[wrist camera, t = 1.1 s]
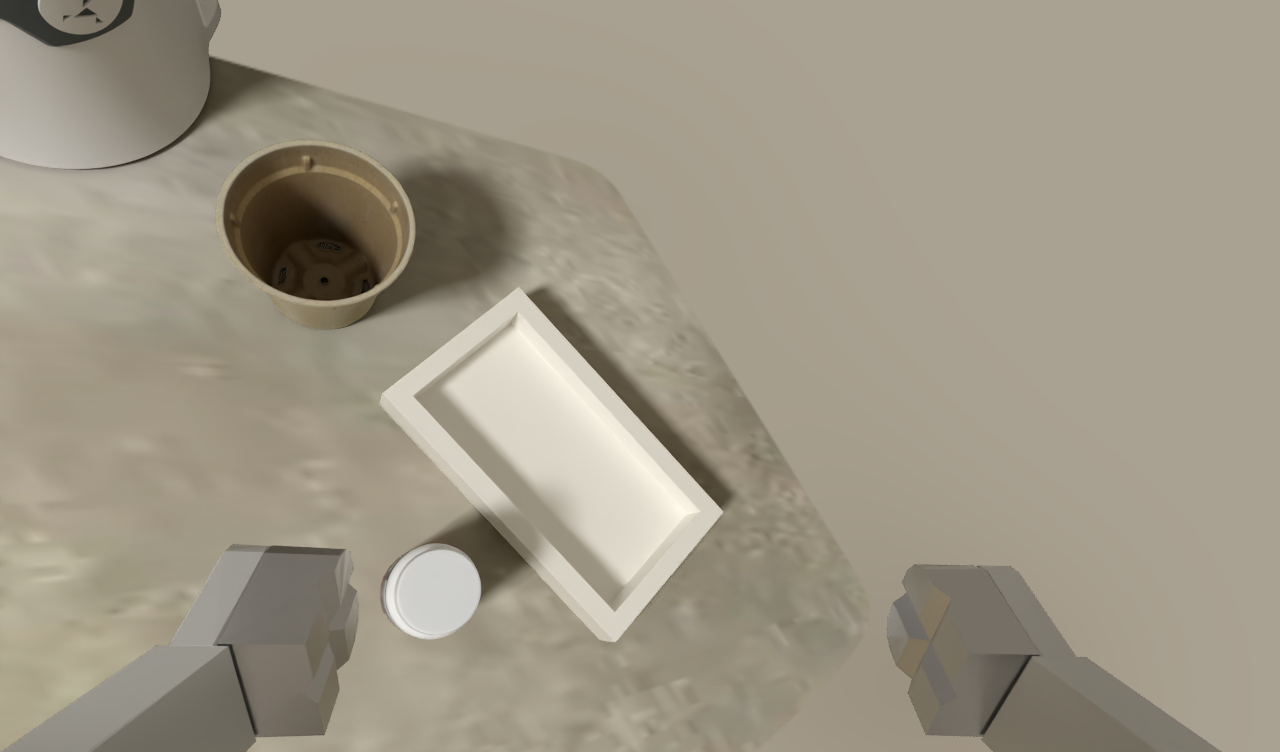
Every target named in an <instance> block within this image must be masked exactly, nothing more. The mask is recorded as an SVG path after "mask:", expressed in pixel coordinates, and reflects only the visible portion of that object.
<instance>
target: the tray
mask: <svg viewBox="0 0 1280 752" xmlns="http://www.w3.org/2000/svg"><path fill="white" fill-rule="evenodd" d="M380 406H381V407H382V408H383V409H384V410H385V411H386V412H387V414H388V415H389V416H390V417H391V418H392V419H393V420H394V421H395V422H396V423H397V424H398V425H399V426H400V427H401V428H402V430H403V431H404V432H405V433H406V434H407V435H408V436H409V437H410V438H411V439H412V440H413V441H414V442H415V443H416V444H417V446H418V447H419V448H420V449H421V450H422V451H423V452H424V453H425V454H426V455H427V456H428V457H429V458H430V459H431V460H432V462H433V463H434V464H435V465H436V466H437V467H438V468H439V469H440V470H441V471H442V472H443V473H444V474H445V475H446V476H447V478H448V479H449V480H450V481H451V482H452V483H453V484H454V485H455V486H456V487H457V488H458V489H459V490H460V491H461V492H462V494H463V495H464V496H465V497H466V498H467V499H468V500H469V501H470V502H471V503H472V504H473V505H474V506H475V507H476V508H477V510H478V511H479V512H480V513H481V514H482V515H483V516H484V517H485V518H486V519H487V520H488V521H489V522H490V523H491V524H492V526H493V527H494V528H495V529H496V530H497V531H498V532H499V533H500V534H501V535H502V536H503V537H504V538H505V539H506V540H507V542H508V543H509V544H510V545H511V546H512V547H513V548H514V549H515V550H516V551H517V552H518V553H519V554H520V555H521V556H522V557H523V559H524V560H525V561H526V562H527V563H528V564H529V565H530V566H531V567H532V568H533V569H534V570H535V571H536V572H537V573H538V575H539V576H540V577H541V578H542V579H543V580H544V581H545V582H546V583H547V584H548V585H549V586H550V587H551V588H552V589H553V591H554V592H555V593H556V594H557V595H558V596H559V597H560V598H561V599H562V600H563V601H564V602H565V603H566V604H567V605H568V607H569V608H570V609H571V610H572V611H573V612H574V613H575V614H576V615H577V616H578V617H579V618H580V619H581V620H582V621H583V623H584V624H585V625H586V626H587V627H588V628H589V629H590V630H591V631H592V632H593V633H594V634H595V635H596V636H597V637H598V639H599V640H604V641H610V642H616V641H617V640H618V639H619V637H620V636H621V635H622V634H623V632H624V631H625V630H626V629H627V628H628V626H629V625H630V624H631V623H632V622H633V620H634V619H635V618H636V617H637V616H638V614H639V613H640V612H641V611H642V610H643V608H644V607H645V606H646V605H647V604H648V602H649V601H650V600H651V599H652V598H653V596H654V595H655V594H656V593H657V592H658V590H659V589H660V588H661V587H662V586H663V584H664V583H665V582H666V581H667V580H668V578H669V577H670V576H671V575H672V574H673V572H674V571H675V570H676V569H677V568H678V566H679V565H680V564H681V563H682V562H683V560H684V559H685V558H686V557H687V555H688V554H689V553H690V552H691V551H692V549H693V548H694V547H695V546H696V545H697V543H698V542H699V541H700V540H701V539H702V537H703V536H704V535H705V534H706V533H707V531H708V530H709V529H710V528H711V527H712V525H713V524H714V523H715V522H716V521H717V519H718V518H719V517H720V516H721V515H722V513H723V511H722V510H721V509H720V508H719V506H718V505H717V504H716V503H715V502H714V501H713V500H712V499H711V498H710V497H709V495H708V494H707V493H706V492H705V491H704V490H703V489H702V488H701V487H700V486H699V484H698V483H697V482H696V481H695V480H694V479H693V478H692V477H691V476H690V475H689V474H688V472H687V471H686V470H685V469H684V468H683V467H682V466H681V465H680V464H679V463H678V461H677V460H676V459H675V458H674V457H673V456H672V455H671V454H670V453H669V452H668V450H667V449H666V448H665V447H664V446H663V445H662V444H661V443H660V442H659V441H658V439H657V438H656V437H655V436H654V435H653V434H652V433H651V432H650V431H649V430H648V428H647V427H646V426H645V425H644V424H643V423H642V422H641V421H640V420H639V419H638V417H637V416H636V415H635V414H634V413H633V412H632V411H631V410H630V409H629V408H628V406H627V405H626V404H625V403H624V402H623V401H622V400H621V399H620V398H619V397H618V395H617V394H616V393H615V392H614V391H613V390H612V389H611V388H610V387H609V386H608V384H607V383H606V382H605V381H604V380H603V379H602V378H601V377H600V376H599V375H598V373H597V372H596V371H595V370H594V369H593V368H592V367H591V366H590V365H589V364H588V362H587V361H586V360H585V359H584V358H583V357H582V356H581V355H580V354H579V353H578V352H577V350H576V349H575V348H574V347H573V346H572V345H571V344H570V343H569V342H568V341H567V339H566V338H565V337H564V336H563V335H562V334H561V333H560V332H559V331H558V330H557V328H556V327H555V326H554V325H553V324H552V323H551V322H550V321H549V320H548V319H547V317H546V316H545V315H544V314H543V313H542V312H541V311H540V310H539V309H538V308H537V306H536V305H535V304H534V303H533V302H532V301H531V300H530V299H529V298H528V297H527V295H526V294H525V293H524V292H523V291H522V290H521V289H520V288H519V287H518V288H517V289H516V290H514V291H513V292H512V293H511V294H509V295H508V296H507V297H506V298H504V299H503V300H502V301H500V302H499V303H498V304H497V305H495V306H494V307H493V308H491V309H490V310H489V311H488V312H486V313H485V314H484V315H482V316H481V317H480V318H479V319H477V320H476V321H475V322H473V323H472V324H471V325H470V326H468V327H467V328H466V329H464V330H463V331H462V332H461V333H459V334H458V335H457V336H455V337H454V338H453V339H452V340H450V341H449V342H448V343H446V344H445V345H444V346H443V347H441V348H440V349H439V350H437V351H436V352H435V353H434V354H432V355H431V356H430V357H428V358H427V359H426V360H425V361H423V362H422V363H421V364H419V365H418V366H417V367H416V368H414V369H413V370H412V371H410V372H409V373H408V374H407V375H405V376H404V377H403V378H401V379H400V380H399V381H398V382H396V383H395V384H394V385H392V386H391V387H390V388H389V389H387V390H386V391H385V392H383V393H382V397H381V401H380Z"/></svg>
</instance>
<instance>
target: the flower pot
mask: <svg viewBox="0 0 1280 752" xmlns="http://www.w3.org/2000/svg"><path fill="white" fill-rule="evenodd" d="M216 224H217V231H218V235H219V238H220V241H221V244H222V246H223V248H224V250H225V252H226V254H227V256H228V257H229V259H230V260H231V262H232V263H233V265H234V266H235V267H236V268H237V269H238V271H239V272H240V273H241V274H242V275H243V276H244V277H245V278H247V279H248V280H249V281H250V282H251V283H253V284H254V285H255V286H257V287H258V288H260V289H261V290H263V291H265V292H267V293H268V294H269V295H270V297H271V298H272V300H273V302H274V304H275V305H276V306H277V308H278V309H279V310H280V311H281V312H282V313H283V314H284V315H285V316H287V317H288V318H289V319H291V320H292V321H294V322H296V323H298V324H300V325H303V326H305V327H309V328H313V329H320V330H331V329H339V328H342V327H345V326H348V325H350V324H352V323H354V322H355V321H357V320H359V319H360V318H361V317H363V316H364V315H365V314H366V313H367V312H368V311H369V310H370V308H371V307H372V305H373V303H374V301H375V299H376V297H377V295H378V294H379V293H381V292H382V291H383V290H385V289H386V288H387V287H388V286H390V285H391V284H392V283H393V282H394V281H395V280H396V279H397V278H398V276H399V275H400V274H401V273H402V271H403V270H404V268H405V267H406V265H407V264H408V262H409V259H410V257H411V254H412V252H413V248H414V244H415V236H416V223H415V216H414V212H413V208H412V206H411V203H410V200H409V198H408V196H407V194H406V193H405V191H404V189H403V188H402V186H401V184H400V183H399V181H398V180H397V179H396V178H395V177H394V176H393V175H392V174H391V173H390V172H389V171H388V170H387V169H386V168H385V167H384V166H382V165H381V164H380V163H379V162H378V161H377V160H375V159H373V158H372V157H370V156H368V155H366V154H364V153H362V152H361V151H358V150H356V149H354V148H352V147H348V146H345V145H342V144H339V143H333V142H328V141H321V140H293V141H286V142H282V143H278V144H275V145H271V146H268V147H266V148H263V149H261V150H259V151H257V152H255V153H254V154H252V155H250V156H249V157H247V158H246V159H244V160H243V161H241V163H240V164H238V165H237V166H236V167H235V168H234V170H232V172H231V173H230V175H229V176H228V177H227V179H226V180H225V182H224V184H223V186H222V188H221V191H220V193H219V197H218V201H217V207H216ZM323 243H329V244H335V245H337V246H338V247H339V248H340V250H333V249H327V248H319V247H318V244H323ZM283 268H286V274H285V275H286V276H287V278H285V280H284V284H279V277H280V272H281V270H282V269H283ZM322 278H327V280H328V282H326V283H322V282H321V279H322ZM364 280H367V281H368V285H369V291H367V292H365V293H363V294H361V293H362V289H363V281H364Z"/></svg>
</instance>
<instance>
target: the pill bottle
mask: <svg viewBox="0 0 1280 752" xmlns="http://www.w3.org/2000/svg"><path fill="white" fill-rule="evenodd" d="M480 597H481V580H480V576H479V574H478V571H477V569H476V566H475V565H474V563H473V562H472V560H471V559H470V558H469V557H468V556H467V555H466V554H465V553H464V552H462V551H461V550H459V549H458V548H456V547H453V546H451V545H447V544H440V543H431V544H425V545H422V546H420V547H417V548H415V549H413V550H411V551H409V552H408V553H406V554H404V555H402V556H401V557H399V558H398V559H397V560H396V561H395V562H394V563H393V564H392V565H391V566H390V567H389V569H388V570H387V572H386V574H385V576H384V578H383V580H382V584H381V590H380V601H381V606H382V609H383V612H384V614H385V616H386V617H387V619H388V620H389V621H390V622H391V623H392V624H393V625H394V626H395V627H397V628H398V629H400V630H402V631H404V632H405V633H407V634H408V635H411V636H413V637H416V638H420V639H438V638H442V637H445V636H448V635H450V634H452V633H454V632H456V631H457V630H459V629H460V628H461V627H463V626H464V625H465V624H466V623H467V622H468V620H469V619H470V618H471V617H472V616H473V614H474V613H475V611H476V609H477V607H478V604H479V601H480Z"/></svg>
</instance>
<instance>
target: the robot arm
mask: <svg viewBox="0 0 1280 752" xmlns="http://www.w3.org/2000/svg"><path fill="white" fill-rule="evenodd" d="M220 17H221V9H220V6H219V3H218V0H0V156H2V157H5V158H8V159H12V160H15V161H19V162H23V163H27V164H32V165H37V166H43V167H50V168H61V169H90V168H101V167H108V166H114V165H119V164H123V163H127V162H131V161H134V160H137V159H140V158H142V157H145V156H148V155H150V154H152V153H154V152H156V151H158V150H160V149H162V148H164V147H165V146H167V145H168V144H170V143H172V142H173V141H174V140H176V139H177V138H178V137H179V136H181V135H182V134H183V133H184V132H185V131H186V130H187V129H188V128H189V127H190V126H191V125H192V123H193V122H194V121H195V119H196V118H197V116H198V115H199V114H200V112H201V110H202V108H203V106H204V104H205V101H206V98H207V95H208V91H209V86H210V64H209V54H208V47H209V41H210V39H211V38H212V36H213V34H214V32H215V30H216V28H217V26H218V23H219V21H220ZM353 569H354V567H353V562H352V557H351V551H348V550H346V549H330V548H310V547H291V546H259V545H239V544H233V545H232V546H230V547H229V548H228V549H227V550H226V551H224V552H223V553H222V555H221V557H220V558H219V560H218V562H217V563H216V565H215V567H214V569H213V570H212V572H211V574H210V575H209V577H208V579H207V581H206V582H205V584H204V586H203V587H202V589H201V591H200V593H199V594H198V596H197V598H196V599H195V601H194V603H193V605H192V606H191V608H190V610H189V612H188V613H187V615H186V617H185V618H184V620H183V622H182V624H181V625H180V627H179V629H178V630H177V632H176V634H175V636H174V637H173V639H172V641H171V642H170V644H169V645H156V646H155V647H153V648H152V649H150V650H149V651H147V652H146V653H144V654H143V655H141V656H140V657H139V658H137V659H136V660H134V661H133V662H131V663H130V664H128V665H127V666H125V667H124V668H122V669H121V670H120V671H118V672H117V673H115V674H114V675H112V676H111V677H109V678H108V679H106V680H105V681H103V682H102V683H100V684H99V685H98V686H96V687H95V688H93V689H92V690H90V691H89V692H87V693H86V694H84V695H83V696H81V697H80V698H79V699H77V700H76V701H74V702H73V703H71V704H70V705H68V706H67V707H65V708H64V709H62V710H61V711H60V712H58V713H57V714H55V715H54V716H52V717H51V718H49V719H48V720H46V721H45V722H43V723H42V724H41V725H39V726H38V727H36V728H35V729H33V730H32V731H30V732H29V733H27V734H26V735H24V736H23V737H22V738H20V739H19V740H17V741H16V742H14V743H13V744H11V745H10V746H8V747H7V748H5V749H4V750H2V751H1V752H246V751H247V750H248V749H249V748H250V747H251V746H252V745H253V744H254V743H255V742H256V738H255V737H278V736H314V735H325V732H326V729H327V726H328V723H329V720H330V717H331V714H332V711H333V708H334V705H335V702H336V699H337V696H338V693H339V689H340V688H339V682H338V676H337V670H338V669H339V668H340V667H341V666H342V665H344V664H345V663H346V662H347V661H348V660H349V658H350V655H351V652H352V648H353V645H354V642H355V636H356V630H357V624H358V605H359V603H358V595H357V591H356V590H355V589H354V588H353V587H352V586H351V585H350V584H348V583H349V581H350V578H351V575H352V572H353ZM902 583H903V585H904V588H905V590H906V591H907V593H906V594H904V595H903V596H902V597H900V598H899V599H897V600H896V601H895V602H893V604H892V607H891V610H890V613H889V616H888V619H887V638H888V643H889V647H890V651H891V654H892V656H893V659H894V661H895V664H896V666H897V667H898V668H899V669H901V670H902V671H903V672H904V673H906V675H908V676H909V677H910V678H911V679H912V681H911V685H910V687H909V691H908V695H909V697H910V699H911V702H912V704H913V706H914V709H915V711H916V713H917V715H918V718H919V720H920V722H921V725H922V727H923V729H924V732H925V734H926V735H941V736H944V735H945V736H976V737H983V738H982V741H983V742H984V743H985V744H986V745H987V746H988V747H989V748H990V749H991V750H992V751H993V752H1221V751H1220V750H1218V749H1217V748H1215V747H1214V746H1213V745H1211V744H1209V743H1208V742H1207V741H1205V740H1204V739H1203V738H1201V737H1200V736H1198V735H1197V734H1195V733H1194V732H1193V731H1191V730H1190V729H1188V728H1187V727H1185V726H1184V725H1182V724H1181V723H1180V722H1178V721H1177V720H1175V719H1174V718H1173V717H1171V716H1170V715H1168V714H1167V713H1165V712H1164V711H1163V710H1161V709H1160V708H1158V707H1157V706H1155V705H1154V704H1153V703H1151V702H1150V701H1148V700H1147V699H1145V698H1144V697H1143V696H1141V695H1140V694H1138V693H1137V692H1135V691H1134V690H1132V689H1131V688H1130V687H1128V686H1127V685H1125V684H1124V683H1123V682H1121V681H1120V680H1118V679H1116V678H1115V677H1114V676H1113V675H1111V674H1110V673H1108V672H1107V671H1105V670H1104V669H1102V668H1101V667H1100V666H1098V665H1097V664H1095V663H1094V662H1092V661H1091V660H1090V659H1088V658H1087V657H1076V655H1075V654H1074V652H1073V651H1072V649H1071V648H1070V647H1069V645H1068V644H1067V642H1066V641H1065V639H1064V638H1063V636H1062V635H1061V633H1060V632H1059V630H1058V629H1057V628H1056V626H1055V625H1054V623H1053V622H1052V620H1051V619H1050V617H1049V616H1048V614H1047V613H1046V611H1045V610H1044V608H1043V607H1042V605H1041V604H1040V602H1039V601H1038V600H1037V598H1036V597H1035V595H1034V594H1033V592H1032V591H1031V589H1030V588H1029V586H1028V585H1027V583H1026V582H1025V580H1024V579H1023V578H1022V576H1021V575H1020V574H1019V572H1018V571H1016V570H1015V569H1014V568H1012V567H1011V566H973V565H917V564H916V565H913V566H912V567H911V568H909V569H908V570H907V572H906V574H905V576H904V579H903V581H902Z"/></svg>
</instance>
